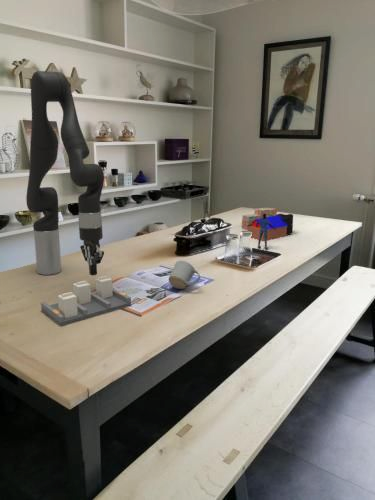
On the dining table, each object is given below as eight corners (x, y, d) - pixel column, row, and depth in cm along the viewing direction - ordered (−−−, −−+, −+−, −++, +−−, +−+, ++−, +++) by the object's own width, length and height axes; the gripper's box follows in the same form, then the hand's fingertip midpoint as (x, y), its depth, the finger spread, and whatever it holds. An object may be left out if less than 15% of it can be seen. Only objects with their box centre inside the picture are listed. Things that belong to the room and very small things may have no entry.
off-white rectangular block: (73, 301, 135) (72, 281, 133) (85, 298, 137) (84, 278, 135) (79, 305, 132) (78, 284, 130) (91, 301, 134) (90, 282, 132)
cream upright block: (59, 314, 125) (57, 293, 123) (71, 310, 127) (70, 290, 125) (65, 318, 122) (63, 297, 120) (77, 315, 124) (76, 293, 122)
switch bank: (41, 310, 130) (40, 301, 129) (108, 293, 145) (108, 285, 144) (60, 326, 120) (60, 316, 119) (131, 305, 135) (130, 297, 134)
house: (246, 238, 227) (247, 217, 224) (270, 233, 239) (271, 213, 236) (262, 242, 218) (264, 220, 215) (287, 237, 230) (288, 216, 227)
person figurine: (275, 250, 203) (278, 214, 199) (271, 252, 200) (273, 215, 195) (255, 246, 210) (257, 211, 205) (251, 248, 206) (253, 212, 201)
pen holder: (285, 228, 242) (285, 212, 239) (296, 232, 234) (296, 215, 231) (272, 232, 238) (272, 215, 235) (283, 236, 230) (283, 218, 227)
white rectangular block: (96, 295, 140) (95, 276, 138) (106, 292, 142) (105, 273, 140) (102, 299, 137) (101, 279, 135) (112, 296, 139) (111, 276, 137)
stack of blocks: (247, 232, 242) (249, 211, 238) (241, 230, 247) (242, 209, 243) (275, 228, 252) (277, 208, 249) (268, 226, 257) (270, 207, 254)
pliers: (210, 231, 244) (212, 197, 239) (211, 231, 243) (213, 197, 239) (201, 233, 236) (203, 198, 232) (202, 233, 236) (204, 198, 231)
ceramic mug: (175, 291, 152) (162, 277, 149) (184, 275, 157) (172, 261, 154) (196, 288, 145) (183, 273, 141) (205, 271, 150) (193, 256, 146)
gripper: (71, 223, 141) (74, 272, 145) (89, 229, 131) (92, 281, 135) (91, 221, 145) (93, 268, 150) (110, 226, 136) (112, 277, 140)
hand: (93, 274), depth 143 cm, fingers closed
